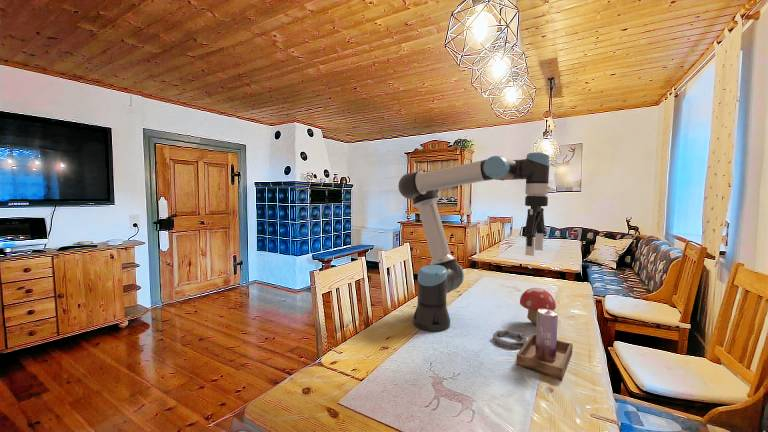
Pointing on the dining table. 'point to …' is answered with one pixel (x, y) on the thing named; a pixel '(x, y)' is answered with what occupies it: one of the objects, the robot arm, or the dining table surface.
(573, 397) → the dining table surface
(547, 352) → the beverage can
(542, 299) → the decorative mushroom
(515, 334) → the collar
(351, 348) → the dining table surface
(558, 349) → the crate
